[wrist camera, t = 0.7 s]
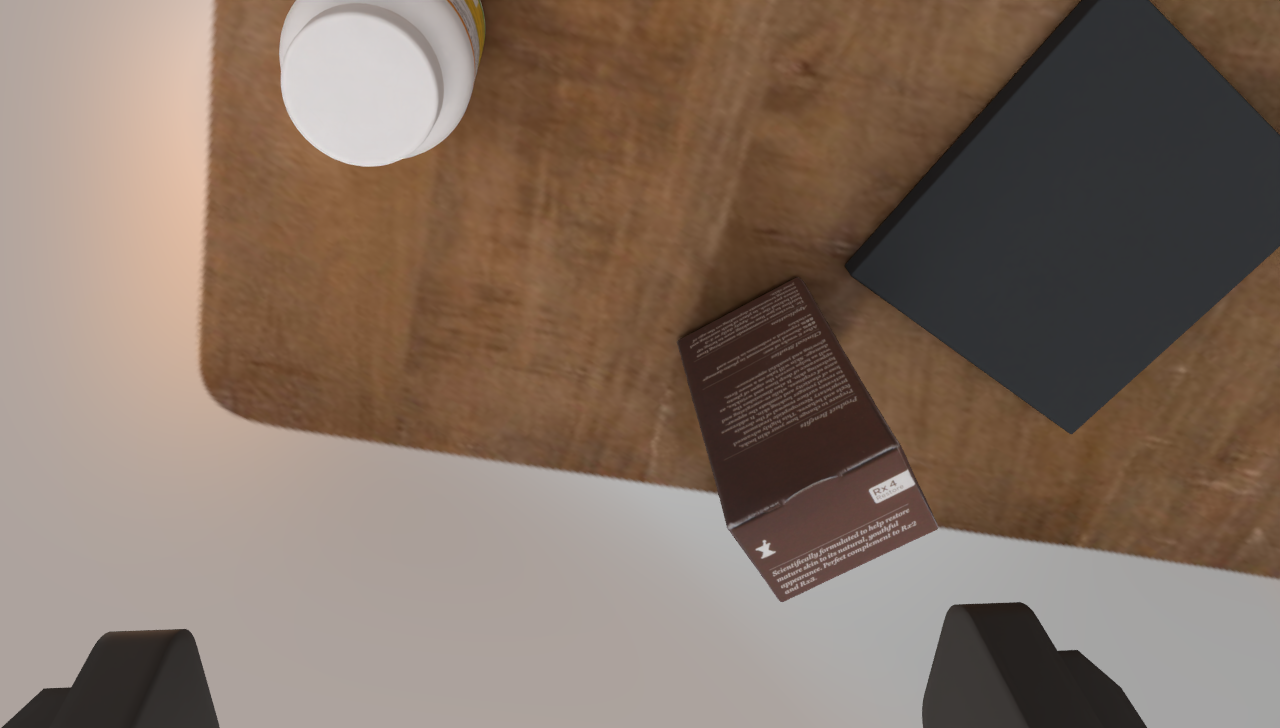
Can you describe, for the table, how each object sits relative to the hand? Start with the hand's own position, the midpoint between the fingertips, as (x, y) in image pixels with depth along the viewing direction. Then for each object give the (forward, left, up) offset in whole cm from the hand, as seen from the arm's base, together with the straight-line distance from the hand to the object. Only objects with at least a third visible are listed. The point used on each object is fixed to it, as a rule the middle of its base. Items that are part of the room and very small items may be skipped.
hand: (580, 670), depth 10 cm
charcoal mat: (-7, +21, -28) cm, 35 cm away
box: (+4, +13, -28) cm, 31 cm away
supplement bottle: (+2, -5, -28) cm, 28 cm away
